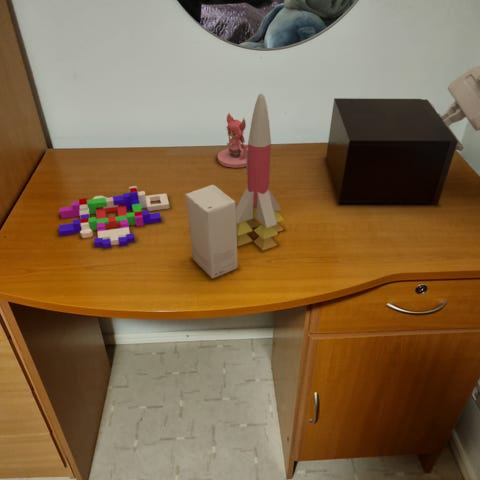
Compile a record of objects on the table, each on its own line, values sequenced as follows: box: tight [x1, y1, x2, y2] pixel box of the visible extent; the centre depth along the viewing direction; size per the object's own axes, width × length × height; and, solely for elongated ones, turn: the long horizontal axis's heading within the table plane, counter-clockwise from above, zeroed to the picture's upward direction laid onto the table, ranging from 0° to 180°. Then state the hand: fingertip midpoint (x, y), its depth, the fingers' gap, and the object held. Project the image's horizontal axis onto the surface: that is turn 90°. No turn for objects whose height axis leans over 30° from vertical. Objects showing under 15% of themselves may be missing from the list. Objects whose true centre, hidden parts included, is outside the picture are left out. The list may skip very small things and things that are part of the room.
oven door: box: [422, 99, 465, 206], centre depth 118 cm, size 5×24×16 cm, turn 0°
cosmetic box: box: [184, 184, 239, 279], centre depth 94 cm, size 8×7×16 cm
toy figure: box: [217, 113, 248, 169], centre depth 128 cm, size 10×10×12 cm
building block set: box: [58, 185, 171, 249], centre depth 109 cm, size 25×20×4 cm
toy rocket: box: [236, 92, 285, 251], centre depth 96 cm, size 12×12×30 cm
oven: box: [325, 97, 451, 206], centre depth 118 cm, size 22×24×16 cm
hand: (442, 122), depth 114 cm, fingers closed, pressing on oven door
